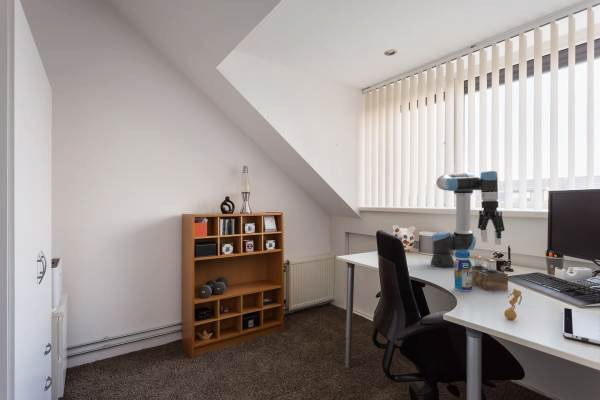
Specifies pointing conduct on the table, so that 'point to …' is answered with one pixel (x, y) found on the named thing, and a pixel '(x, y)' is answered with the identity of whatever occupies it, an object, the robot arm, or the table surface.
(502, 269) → the coffee mug
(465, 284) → the beverage bottle
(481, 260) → the back peg
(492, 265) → the front peg
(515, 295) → the figurine
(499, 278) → the walnut block
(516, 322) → the table surface
